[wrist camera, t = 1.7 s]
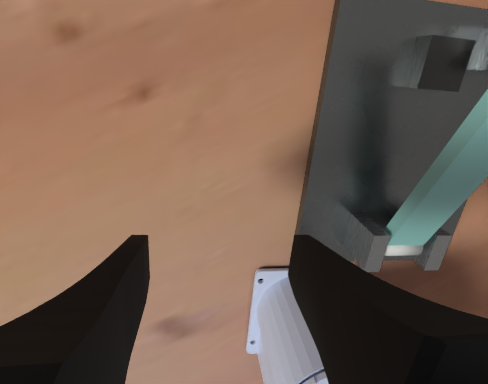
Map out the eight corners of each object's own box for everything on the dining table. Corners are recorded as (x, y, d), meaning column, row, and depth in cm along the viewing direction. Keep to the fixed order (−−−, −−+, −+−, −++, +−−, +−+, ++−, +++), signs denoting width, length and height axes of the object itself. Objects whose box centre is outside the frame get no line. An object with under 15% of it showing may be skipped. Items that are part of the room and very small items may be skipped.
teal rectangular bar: (405, 242, 24) (415, 259, 23) (369, 242, 23) (378, 260, 22) (571, 48, 13) (605, 62, 12) (514, 40, 13) (545, 54, 12)
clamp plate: (436, 254, 27) (490, 296, 22) (291, 256, 25) (314, 304, 20) (528, 19, 20) (637, 3, 15) (336, -9, 18) (391, -40, 13)
